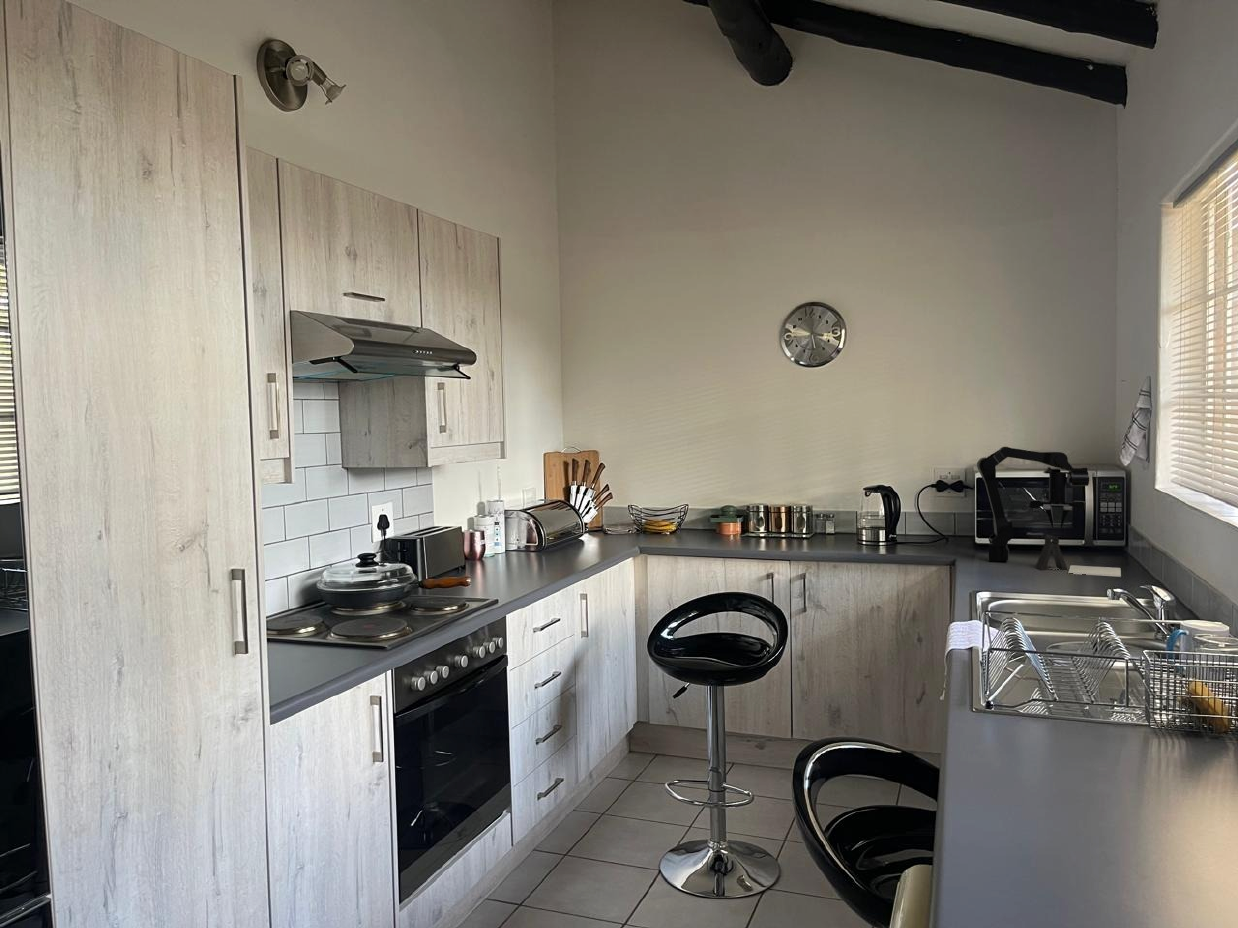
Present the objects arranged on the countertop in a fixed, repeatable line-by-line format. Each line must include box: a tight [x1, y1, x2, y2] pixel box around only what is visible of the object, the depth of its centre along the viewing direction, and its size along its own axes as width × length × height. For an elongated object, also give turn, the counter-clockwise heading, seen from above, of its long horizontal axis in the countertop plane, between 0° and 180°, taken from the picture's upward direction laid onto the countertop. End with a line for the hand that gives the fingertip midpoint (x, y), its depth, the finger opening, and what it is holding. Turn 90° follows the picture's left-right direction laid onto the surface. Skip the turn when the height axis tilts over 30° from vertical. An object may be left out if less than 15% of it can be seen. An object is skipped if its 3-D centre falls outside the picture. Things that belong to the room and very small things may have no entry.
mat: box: [1068, 564, 1122, 578], centre depth 340 cm, size 16×18×1 cm
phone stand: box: [1035, 534, 1069, 571], centre depth 347 cm, size 9×6×12 cm, turn 84°
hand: (1057, 527), depth 363 cm, fingers open, 3 cm apart
